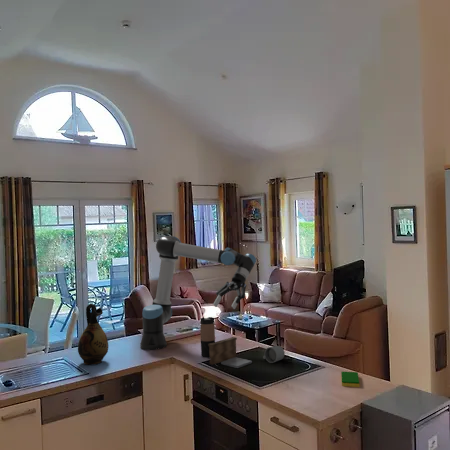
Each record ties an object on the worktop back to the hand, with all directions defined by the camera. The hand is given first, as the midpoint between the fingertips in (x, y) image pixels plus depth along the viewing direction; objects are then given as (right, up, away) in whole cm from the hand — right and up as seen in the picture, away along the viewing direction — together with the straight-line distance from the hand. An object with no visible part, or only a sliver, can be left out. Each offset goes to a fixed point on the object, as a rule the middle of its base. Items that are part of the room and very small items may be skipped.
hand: (223, 306), depth 249 cm
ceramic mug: (+25, -24, -21) cm, 40 cm away
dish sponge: (+55, -23, -54) cm, 81 cm away
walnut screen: (0, -24, -18) cm, 30 cm away
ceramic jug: (-68, -26, -15) cm, 75 cm away
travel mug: (-8, -25, -9) cm, 28 cm away
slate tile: (+6, -24, -24) cm, 35 cm away
